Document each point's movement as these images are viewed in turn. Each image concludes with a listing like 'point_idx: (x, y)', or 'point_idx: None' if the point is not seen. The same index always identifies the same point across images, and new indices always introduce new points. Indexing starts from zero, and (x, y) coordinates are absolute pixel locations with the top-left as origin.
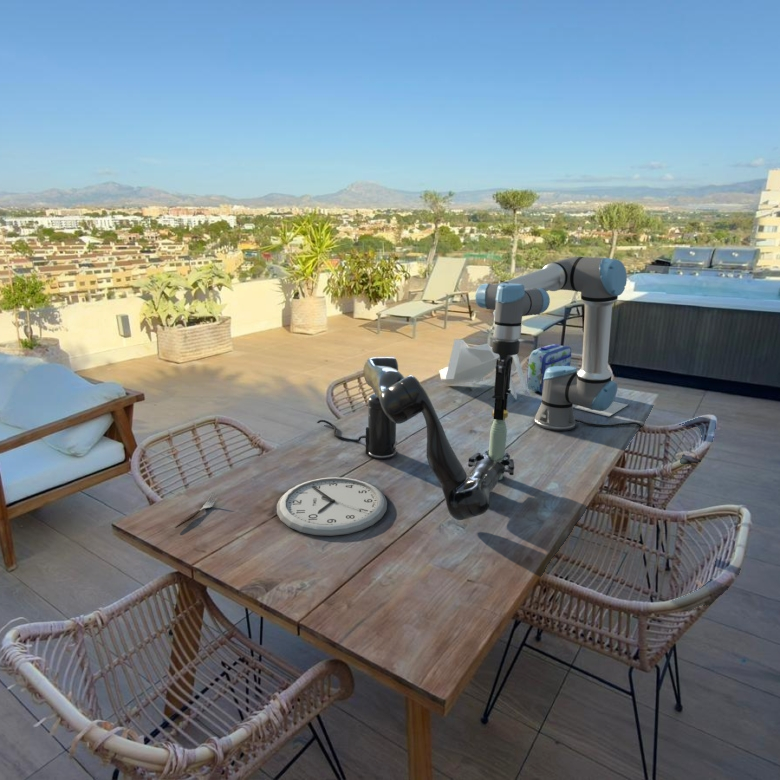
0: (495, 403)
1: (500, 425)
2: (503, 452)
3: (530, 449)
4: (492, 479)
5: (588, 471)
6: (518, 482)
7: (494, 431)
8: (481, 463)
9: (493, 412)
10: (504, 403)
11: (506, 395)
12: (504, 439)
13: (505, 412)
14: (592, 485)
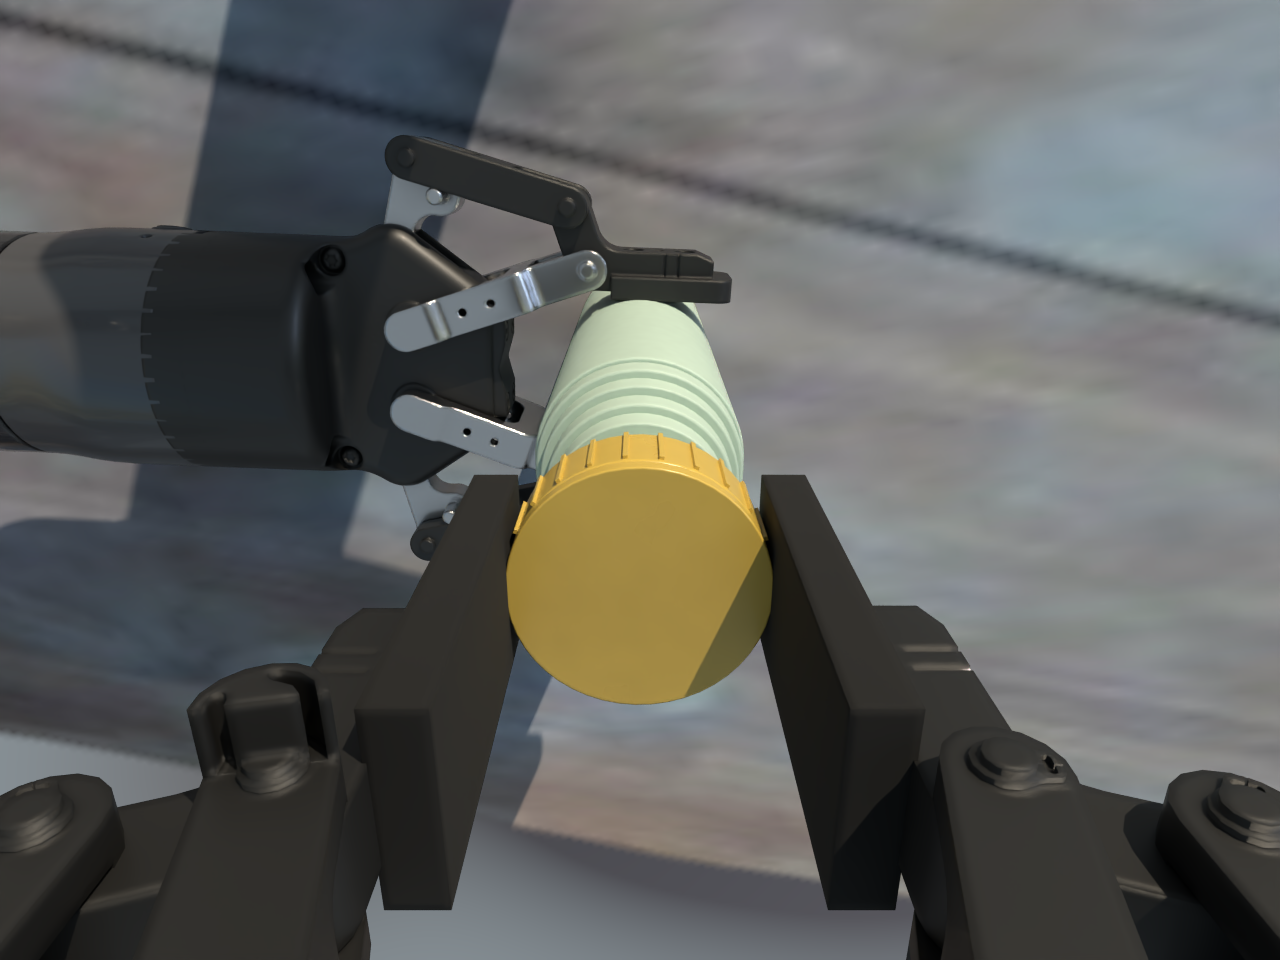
0: (404, 638)
1: None
2: None
3: (1239, 498)
4: (65, 453)
5: None
6: None
7: (544, 428)
8: (152, 334)
9: (563, 482)
10: (474, 809)
11: (823, 865)
12: None
13: (602, 680)
14: (759, 864)
